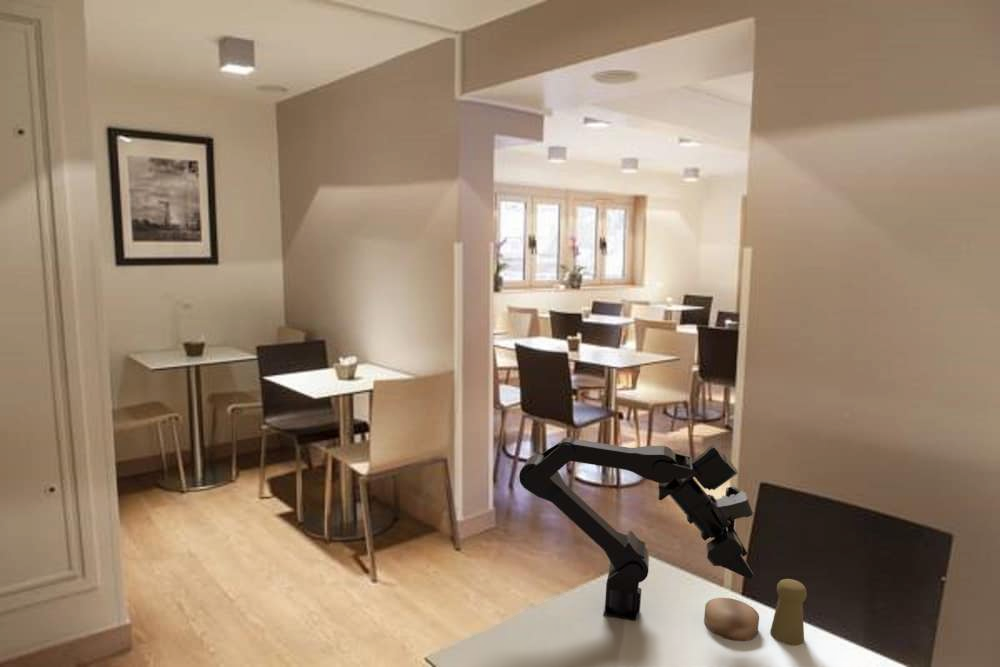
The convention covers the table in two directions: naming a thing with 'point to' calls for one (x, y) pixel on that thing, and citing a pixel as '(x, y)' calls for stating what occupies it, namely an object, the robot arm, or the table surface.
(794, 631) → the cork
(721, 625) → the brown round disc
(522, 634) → the table surface
